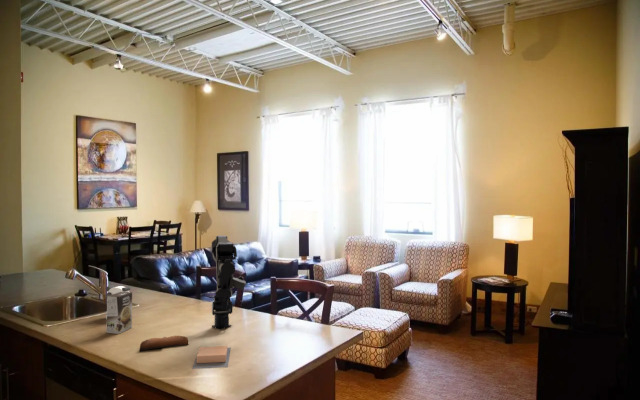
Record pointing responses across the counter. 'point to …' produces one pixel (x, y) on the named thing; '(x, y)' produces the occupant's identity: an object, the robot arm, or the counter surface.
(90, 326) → the counter surface
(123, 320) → the coffee box
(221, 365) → the mat
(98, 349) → the counter surface
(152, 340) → the sunglasses case
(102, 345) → the counter surface
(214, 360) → the tile
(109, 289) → the white piece
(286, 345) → the counter surface
